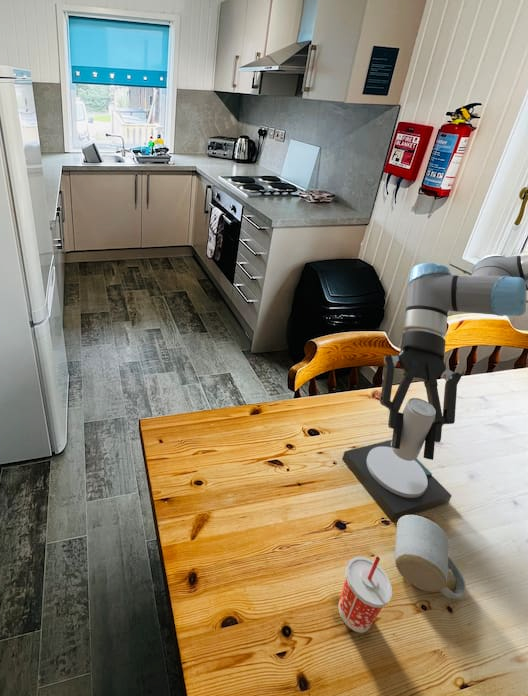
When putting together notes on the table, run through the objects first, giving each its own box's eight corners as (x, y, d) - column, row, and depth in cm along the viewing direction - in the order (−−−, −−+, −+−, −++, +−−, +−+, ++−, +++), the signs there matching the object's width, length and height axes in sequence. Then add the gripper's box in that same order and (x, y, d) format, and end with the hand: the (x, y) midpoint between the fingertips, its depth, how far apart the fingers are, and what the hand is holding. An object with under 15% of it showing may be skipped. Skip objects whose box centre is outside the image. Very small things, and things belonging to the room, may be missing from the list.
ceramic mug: (388, 575, 66) (402, 547, 63) (391, 532, 72) (404, 505, 69) (464, 618, 61) (483, 590, 58) (460, 568, 67) (477, 540, 64)
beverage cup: (384, 621, 60) (411, 566, 54) (360, 649, 57) (387, 593, 51) (348, 582, 65) (370, 527, 59) (324, 605, 61) (345, 550, 56)
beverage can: (402, 439, 82) (420, 395, 77) (422, 459, 78) (442, 413, 73) (384, 445, 80) (401, 400, 76) (404, 465, 76) (423, 418, 71)
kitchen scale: (448, 503, 78) (453, 492, 77) (391, 521, 74) (396, 509, 73) (392, 446, 90) (397, 435, 89) (341, 459, 86) (345, 447, 85)
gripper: (466, 350, 82) (458, 469, 75) (372, 328, 88) (356, 436, 81) (483, 343, 76) (476, 473, 68) (380, 319, 82) (364, 437, 74)
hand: (411, 453), depth 74 cm, fingers closed on beverage can, 5 cm apart
